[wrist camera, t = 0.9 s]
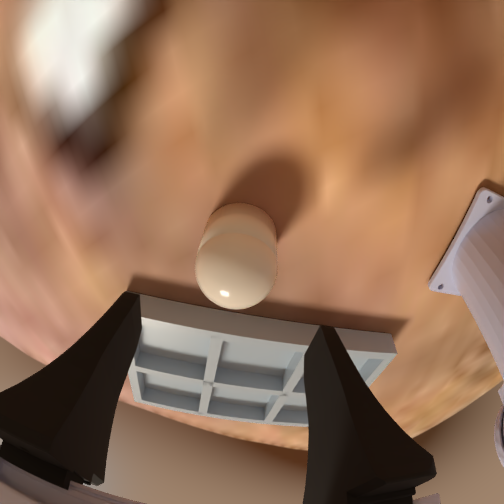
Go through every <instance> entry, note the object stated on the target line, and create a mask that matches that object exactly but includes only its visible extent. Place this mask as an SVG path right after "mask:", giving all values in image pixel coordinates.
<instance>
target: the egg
mask: <svg viewBox="0 0 504 504" xmlns="http://www.w3.org/2000/svg"><path fill="white" fill-rule="evenodd" d="M277 270H278V262H277V237H276V228H275V225H274V223H273V221H272V219H271V218H270V216H269V215H268V214H267V213H266V212H265V211H263V210H262V209H260V208H258V207H256V206H254V205H251V204H246V203H232V204H228V205H225V206H223V207H221V208H219V209H218V210H216V211H215V212H214V213H213V214H212V215H211V216H210V218H209V219H208V221H207V224H206V227H205V230H204V233H203V236H202V240H201V243H200V246H199V249H198V253H197V256H196V261H195V276H196V280H197V283H198V285H199V287H200V289H201V291H202V292H203V293H204V294H205V296H206V297H207V298H208V299H209V300H211V301H212V302H213V303H215V304H217V305H219V306H221V307H224V308H228V309H245V308H249V307H251V306H254V305H256V304H258V303H259V302H261V301H262V300H263V299H264V298H265V297H266V296H267V295H268V294H269V293H270V291H271V290H272V288H273V286H274V284H275V281H276V278H277Z"/></svg>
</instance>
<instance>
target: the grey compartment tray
mask: <svg viewBox="0 0 504 504" xmlns="http://www.w3.org/2000/svg"><path fill="white" fill-rule="evenodd" d="M127 292H129V291H127ZM132 293H134V292H132ZM136 294H138V293H136ZM140 304H141V319H142V331H141V334H140V338H139V342H138V346H137V350H136V352H135V355H134V358H133V360H132V363H131V366H130V368H129V371H128V375H129V379H130V384H131V388H132V392H133V397H134V401H135V402H139V403H143V404H147V405H151V406H156V407H160V408H165V409H169V410H174V411H179V412H184V413H190V414H195V415H201V416H207V417H213V418H220V419H227V420H234V421H242V422H251V423H261V424H272V425H285V426H302V427H308V415H307V405H306V395H305V386H304V354H305V352H306V351H307V349H308V347H309V345H310V343H311V341H312V340H313V338H314V336H315V334H316V332H317V330H318V328H319V325H312V324H305V323H298V322H291V321H284V320H277V319H271V318H265V317H258V316H252V315H246V314H240V313H235V312H229V311H223V310H218V309H212V308H207V307H202V306H196V305H191V304H186V303H181V302H176V301H171V300H166V299H161V298H157V297H152V296H147V295H143V294H140ZM334 328H335V327H334ZM335 330H336V332H337V333H338V335H339V337H340V339H341V341H342V343H343V345H344V347H345V348H346V350H347V352H348V354H349V356H350V358H351V359H352V361H353V363H354V365H355V366H356V368H357V370H358V371H359V373H360V375H361V377H362V378H363V380H364V381H365V383H366V384H367V386H368V387H369V386H370V385H371V384H372V383H373V382H374V380H375V379H376V378H377V377H378V376H379V375H380V374H381V373H382V371H383V370H384V369H385V368H386V367H387V366H388V364H389V363H390V362H391V361H392V360H393V358H394V357H395V356H396V355H397V351H396V348H395V344H394V341H393V338H392V335H391V334H389V333H379V332H369V331H360V330H352V329H343V328H335Z"/></svg>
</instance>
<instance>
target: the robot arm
mask: <svg viewBox="0 0 504 504" xmlns="http://www.w3.org/2000/svg"><path fill="white" fill-rule="evenodd" d="M488 197H489V199H488V200H487V198H488ZM440 284H441V285H440ZM428 287H429V289H430V290H431V291H436V292H442V293H447V294H453V295H459V296H462V297H463V299H464V301H465V303H466V304H467V306H468V308H469V310H470V312H471V314H472V315H473V317H474V319H475V321H476V323H477V325H478V327H479V329H480V331H481V333H482V335H483V337H484V339H485V341H486V343H487V345H488V347H489V349H490V351H491V353H492V355H493V357H494V360H495V362H496V364H497V366H498V369H499V371H500V373H501V375H502V378H503V380H504V197H503V196H501V195H499V194H497V193H495V192H493V191H491V190H489V189H487V188H485V187H482V188H480V189H479V190H478V192H477V193H476V196H475V198H474V200H473V202H472V204H471V206H470V208H469V210H468V212H467V214H466V216H465V218H464V220H463V222H462V224H461V226H460V228H459V230H458V232H457V234H456V236H455V237H454V239H453V241H452V243H451V245H450V247H449V248H448V250H447V252H446V254H445V255H444V257H443V259H442V261H441V262H440V264H439V266H438V267H437V269H436V271H435V272H434V274H433V276H432V277H431V279H430V280H429V282H428ZM141 331H142V319H141V304H140V294H136V293H132V292H127V291H125V292H124V293H122V295H121V296H120V297H119V298H118V299H117V300H116V302H115V303H114V304H113V305H112V306H111V307H110V308H109V309H108V311H107V312H106V313H105V314H104V315H103V316H102V317H101V318H100V319H99V320H98V321H97V322H96V323H95V324H94V325H93V326H92V327H91V328H90V329H89V330H88V331H87V332H86V333H85V334H84V335H83V336H82V337H81V338H80V339H79V340H78V341H77V342H76V343H75V344H73V345H72V346H71V347H70V348H69V349H68V350H66V351H65V352H64V353H63V354H62V355H60V356H59V357H58V358H56V359H55V360H54V361H52V362H51V363H50V364H48V365H47V366H46V367H44V368H43V369H41V370H40V371H38V372H37V373H35V374H33V375H32V376H30V377H29V378H27V379H25V380H24V381H22V382H20V383H19V384H17V385H15V386H13V387H10V388H8V389H6V390H4V391H2V392H0V438H1V439H2V440H3V442H2V445H0V504H145V503H141V502H137V501H133V500H129V499H125V498H121V497H118V496H114V495H111V494H108V493H104V492H102V491H98V490H96V489H92V488H90V487H87V486H84V485H83V483H85V484H87V485H91V484H93V485H96V486H98V485H100V484H102V483H104V477H105V468H106V459H107V452H108V446H109V439H110V434H111V428H112V424H113V418H114V414H115V409H116V406H117V402H118V399H119V395H120V392H121V390H122V387H123V384H124V381H125V379H126V376H127V373H128V371H129V368H130V366H131V363H132V360H133V358H134V355H135V352H136V350H137V346H138V342H139V338H140V334H141ZM304 386H305V395H306V405H307V415H308V427H309V442H308V463H307V475H306V486H305V492H304V499H303V504H441V503H440V497H439V494H438V493H436V494H433V495H429V496H426V497H422V498H419V499H416V500H413V499H412V495H415V493H416V491H415V487H416V486H418V485H420V484H423V483H425V482H427V481H429V480H430V479H432V478H434V477H435V476H436V474H437V473H436V468H435V463H434V459H433V456H432V455H431V454H430V453H429V452H427V451H426V450H425V449H424V448H422V447H421V446H420V445H419V444H417V443H416V442H415V441H414V440H413V439H412V438H411V437H410V436H409V435H407V434H406V433H405V432H404V431H403V430H402V429H401V428H400V426H399V425H398V424H397V423H396V422H395V421H394V420H393V419H392V418H391V417H390V415H389V414H388V413H387V412H386V411H385V409H384V408H383V407H382V406H381V404H380V403H379V402H378V400H377V399H376V398H375V396H374V395H373V394H372V392H371V391H370V389H369V388H368V386H367V384H366V383H365V381H364V380H363V378H362V377H361V375H360V373H359V371H358V370H357V368H356V366H355V365H354V363H353V361H352V359H351V358H350V356H349V354H348V352H347V350H346V348H345V347H344V345H343V343H342V341H341V339H340V337H339V335H338V333H337V332H336V330H335V328H334V327H329V326H321V325H320V326H319V328H318V330H317V332H316V334H315V336H314V338H313V340H312V341H311V343H310V345H309V347H308V349H307V351H306V352H305V354H304ZM498 393H499V395H500V398H501V401H502V403H503V405H502V406H501V408H500V410H499V412H498V415H497V418H496V422H495V429H494V438H495V446H496V451H497V454H498V457H499V459H500V461H501V463H502V465H503V467H504V384H503V385H502V387H501V388H500V389H499V391H498Z"/></svg>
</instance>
